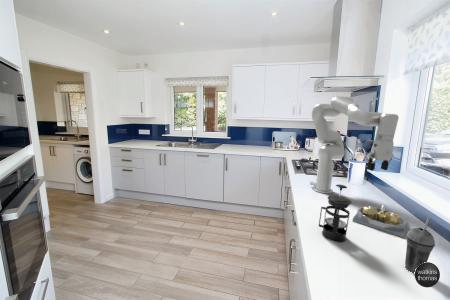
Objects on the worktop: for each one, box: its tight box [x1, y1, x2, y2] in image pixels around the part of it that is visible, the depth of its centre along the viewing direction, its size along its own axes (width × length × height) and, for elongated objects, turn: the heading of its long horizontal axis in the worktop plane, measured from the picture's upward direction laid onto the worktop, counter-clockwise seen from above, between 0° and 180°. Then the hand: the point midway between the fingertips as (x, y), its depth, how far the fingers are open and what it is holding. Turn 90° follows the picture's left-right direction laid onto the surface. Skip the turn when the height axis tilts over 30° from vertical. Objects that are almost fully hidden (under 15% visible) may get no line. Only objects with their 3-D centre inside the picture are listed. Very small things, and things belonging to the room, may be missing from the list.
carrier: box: [352, 204, 408, 239], centre depth 109 cm, size 20×20×7 cm
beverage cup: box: [404, 216, 436, 275], centre depth 73 cm, size 7×7×20 cm
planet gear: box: [384, 211, 402, 225], centre depth 104 cm, size 6×6×5 cm
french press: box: [318, 184, 352, 243], centre depth 92 cm, size 12×9×23 cm
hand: (376, 169), depth 115 cm, fingers open, 9 cm apart
